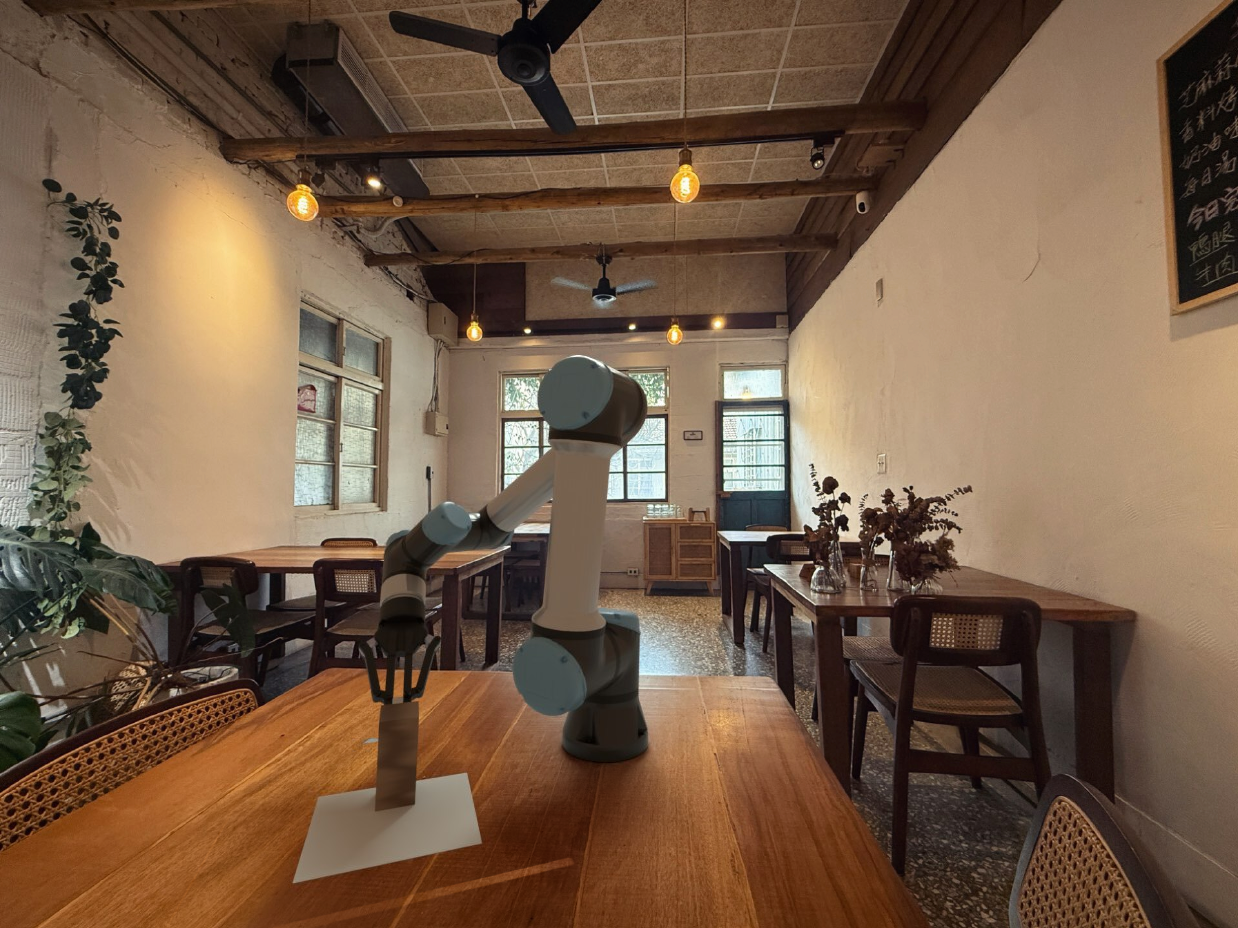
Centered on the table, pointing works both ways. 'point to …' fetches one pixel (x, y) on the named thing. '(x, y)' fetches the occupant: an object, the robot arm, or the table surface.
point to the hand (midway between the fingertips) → (395, 744)
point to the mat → (387, 828)
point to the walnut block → (397, 755)
